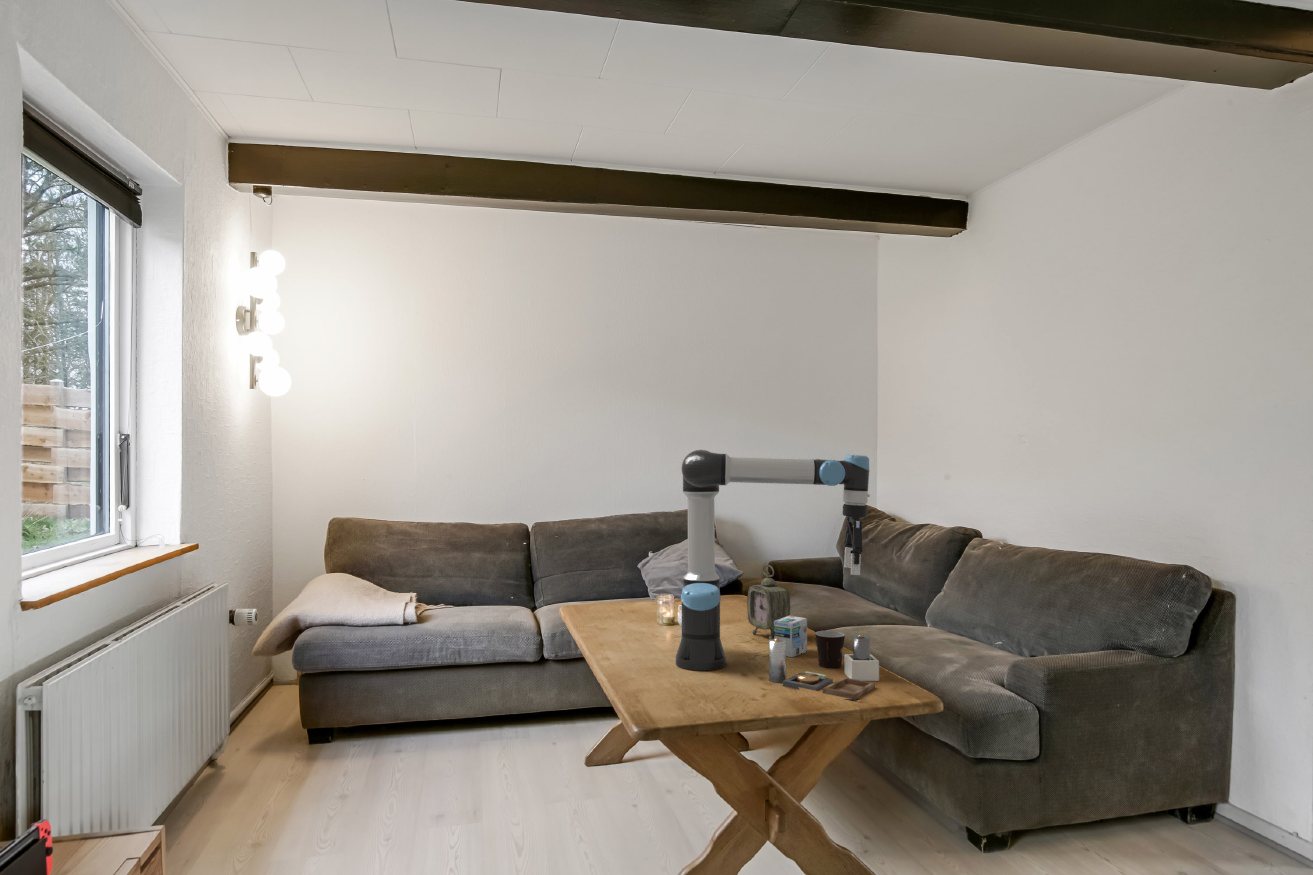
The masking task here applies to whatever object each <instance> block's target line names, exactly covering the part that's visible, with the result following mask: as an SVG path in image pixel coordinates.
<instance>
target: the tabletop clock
mask: <svg viewBox="0 0 1313 875" xmlns="http://www.w3.org/2000/svg"><path fill="white" fill-rule="evenodd" d="M766 567H767V568H770V569H771V570H772V574H771V573H770V572H765V568H766ZM762 573H763V575H764V577H765V578H763V579H762V580H761V582H760V584H756V585H755V584H753V585H749V586H748V589H747V595H746V596H747V597H746V598H747V601H746V606H747V607H746V608H747V609H746V610H747V618H748V619H747V620H748V623H749V624H750V625H751V626H752V627H754V628H755V629H752V630H751V632H752V633H751V634H753V635H756V634H757V632H758V629H760V630H764V631H766V630H770V635H769V636H768V641H769V640H771V639H774V621H775V620H778V619H781V618H784V617H787V616H791V595H790V592H789V591H788V590H787V589H786V588H784V587H782V586H779V585H777V583H776V581H775V579H773V578H772V577H774V575H775V569H774V567H773V565H770V564H764V565H763V567H762Z"/></svg>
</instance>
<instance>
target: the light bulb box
mask: <svg viewBox="0 0 1313 875" xmlns="http://www.w3.org/2000/svg"><path fill="white" fill-rule="evenodd" d="M773 638H774V639H775V638H780V639H782V640H785V641H786V658H787V657H788V658H794V657H796V656H799V655H801V653H802V654H804V653H807V652H808V618H806V617H799V616H794V615H790V616H787V617H784V618H781V619H778V620H775V621H774V636H773ZM806 651H807V652H806Z"/></svg>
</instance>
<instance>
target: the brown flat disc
mask: <svg viewBox="0 0 1313 875" xmlns="http://www.w3.org/2000/svg"><path fill="white" fill-rule="evenodd" d="M814 673H815V672H812V673H804V672H798V673H797V674H796V675H797V681H798V682H800V683H805V684H815V683H818V682H819V675H817V674H814Z"/></svg>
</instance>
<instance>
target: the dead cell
mask: <svg viewBox="0 0 1313 875" xmlns="http://www.w3.org/2000/svg"><path fill="white" fill-rule="evenodd" d="M870 642H871V638H870V637H869V636H866V635H864V634H858V635H854V636H852V654H853V660H870V654H871V643H870Z"/></svg>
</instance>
